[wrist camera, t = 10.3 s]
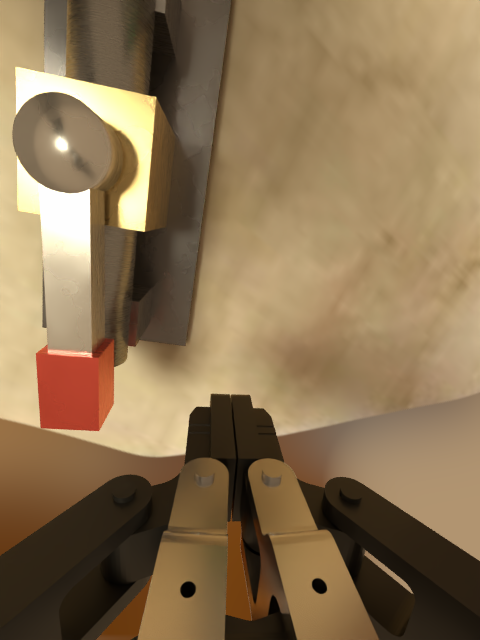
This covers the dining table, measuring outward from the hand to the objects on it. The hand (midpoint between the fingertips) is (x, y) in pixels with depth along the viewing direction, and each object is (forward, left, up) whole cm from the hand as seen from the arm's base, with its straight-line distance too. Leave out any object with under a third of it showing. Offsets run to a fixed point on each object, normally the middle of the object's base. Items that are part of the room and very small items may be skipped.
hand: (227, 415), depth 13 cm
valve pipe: (-9, -8, -16) cm, 20 cm away
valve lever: (-3, -8, -6) cm, 10 cm away
